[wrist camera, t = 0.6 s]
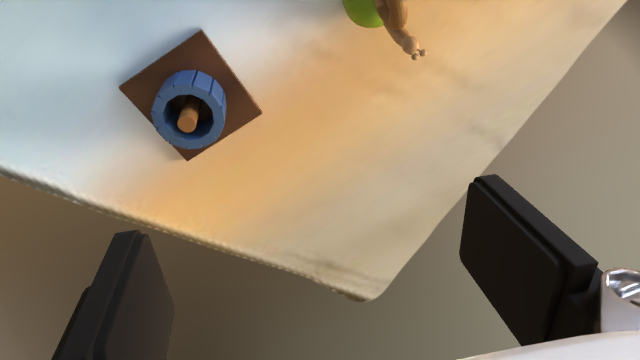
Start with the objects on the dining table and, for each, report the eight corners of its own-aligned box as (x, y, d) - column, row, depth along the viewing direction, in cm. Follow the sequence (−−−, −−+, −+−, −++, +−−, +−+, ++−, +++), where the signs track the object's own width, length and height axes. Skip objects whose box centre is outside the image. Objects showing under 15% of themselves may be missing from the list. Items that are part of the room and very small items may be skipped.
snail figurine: (352, 41, 40) (388, 74, 30) (328, -24, 37) (360, -10, 27) (401, 17, 40) (454, 43, 30) (381, -50, 37) (434, -47, 27)
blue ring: (146, 92, 39) (135, 109, 35) (198, 57, 38) (193, 70, 34) (189, 141, 42) (184, 160, 39) (238, 109, 42) (237, 126, 38)
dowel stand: (119, 85, 39) (99, 110, 33) (201, 29, 38) (194, 44, 32) (187, 159, 44) (180, 190, 39) (262, 111, 43) (265, 137, 37)
